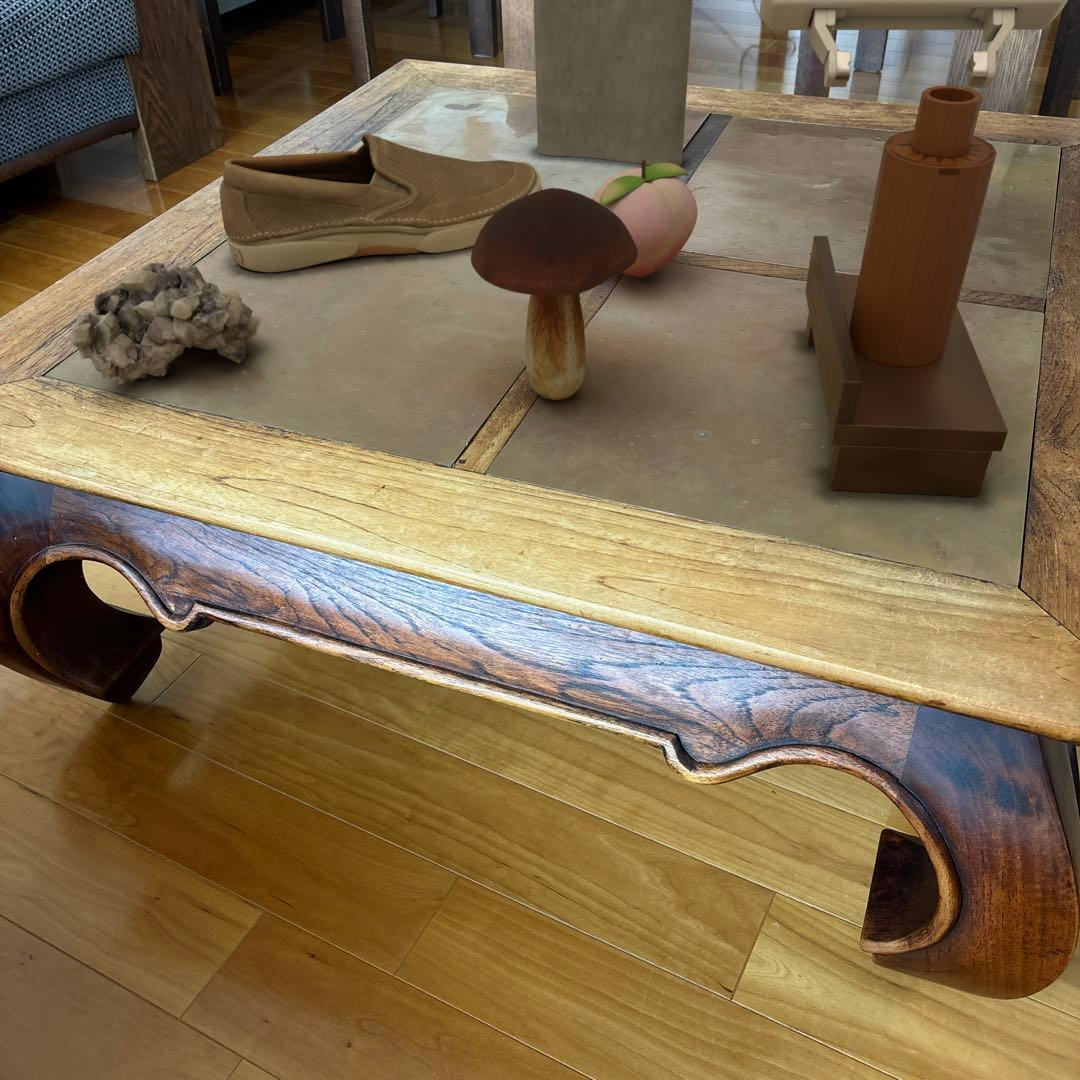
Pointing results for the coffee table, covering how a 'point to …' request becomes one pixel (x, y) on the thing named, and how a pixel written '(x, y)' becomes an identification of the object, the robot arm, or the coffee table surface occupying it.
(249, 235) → the slip on shoe
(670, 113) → the grey upright slab
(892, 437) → the walnut bench
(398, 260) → the coffee table surface
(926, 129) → the bottle
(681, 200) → the decorative fruit
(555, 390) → the decorative mushroom
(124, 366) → the mineral specimen
